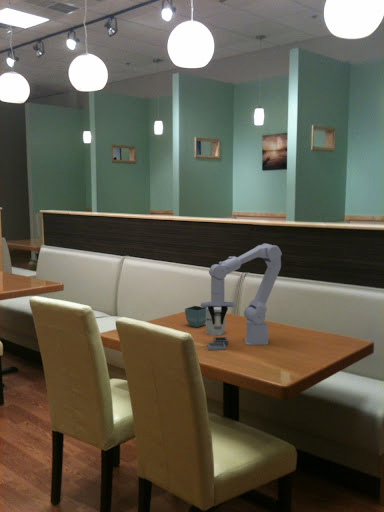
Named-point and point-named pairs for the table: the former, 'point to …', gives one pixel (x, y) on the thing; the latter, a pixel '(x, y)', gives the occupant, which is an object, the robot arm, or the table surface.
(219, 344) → the tray
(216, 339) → the socket
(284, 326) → the table surface
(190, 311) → the flower pot
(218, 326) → the fuse
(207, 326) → the supplement box
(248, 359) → the table surface
